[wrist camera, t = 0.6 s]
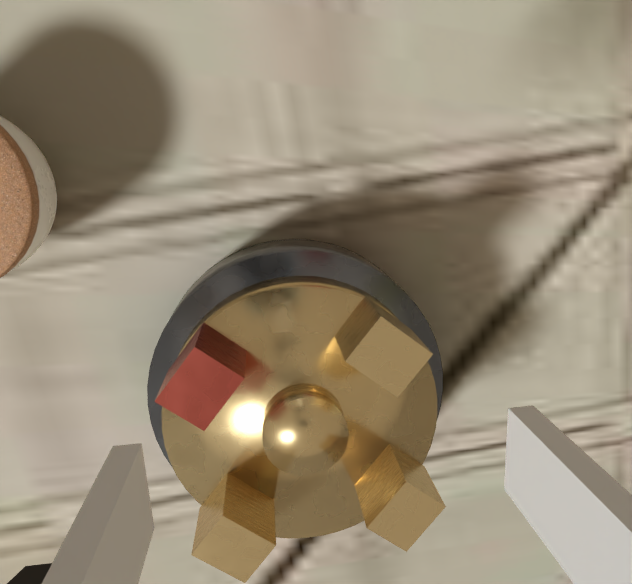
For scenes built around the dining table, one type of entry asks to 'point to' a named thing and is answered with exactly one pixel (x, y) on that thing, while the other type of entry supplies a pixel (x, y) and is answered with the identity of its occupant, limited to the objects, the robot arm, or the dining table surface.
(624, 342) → the dining table surface
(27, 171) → the lidded jar
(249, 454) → the ring nut
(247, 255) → the base
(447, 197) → the dining table surface
